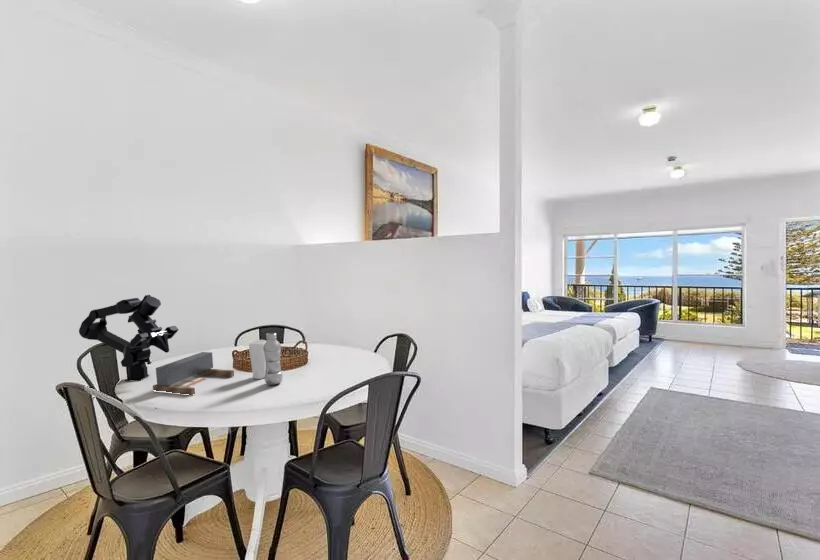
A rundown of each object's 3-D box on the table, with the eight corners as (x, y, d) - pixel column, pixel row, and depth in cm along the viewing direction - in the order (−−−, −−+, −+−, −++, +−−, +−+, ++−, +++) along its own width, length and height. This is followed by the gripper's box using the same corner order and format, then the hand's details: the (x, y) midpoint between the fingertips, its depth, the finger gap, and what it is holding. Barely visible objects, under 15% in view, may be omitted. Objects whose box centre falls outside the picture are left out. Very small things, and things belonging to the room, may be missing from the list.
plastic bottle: (267, 381, 165) (264, 332, 163) (284, 380, 166) (281, 331, 164) (262, 387, 159) (259, 335, 157) (281, 386, 159) (278, 335, 158)
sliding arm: (157, 384, 156) (155, 368, 155) (203, 366, 178) (202, 351, 177) (167, 385, 154) (166, 368, 154) (213, 367, 176) (212, 352, 176)
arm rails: (153, 392, 157) (152, 385, 157) (198, 373, 178) (198, 367, 178) (191, 395, 152) (191, 389, 152) (234, 376, 173) (233, 370, 173)
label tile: (168, 387, 162) (167, 385, 162) (190, 377, 173) (190, 376, 173) (184, 388, 160) (184, 386, 160) (206, 379, 170) (205, 377, 170)
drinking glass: (271, 374, 174) (269, 339, 172) (264, 380, 167) (261, 343, 166) (255, 374, 174) (253, 339, 173) (248, 380, 168) (245, 343, 166)
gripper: (153, 331, 180) (175, 358, 178) (112, 340, 162) (136, 371, 160) (167, 314, 178) (189, 341, 176) (128, 322, 160) (152, 352, 158)
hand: (167, 351), depth 168 cm, fingers closed
